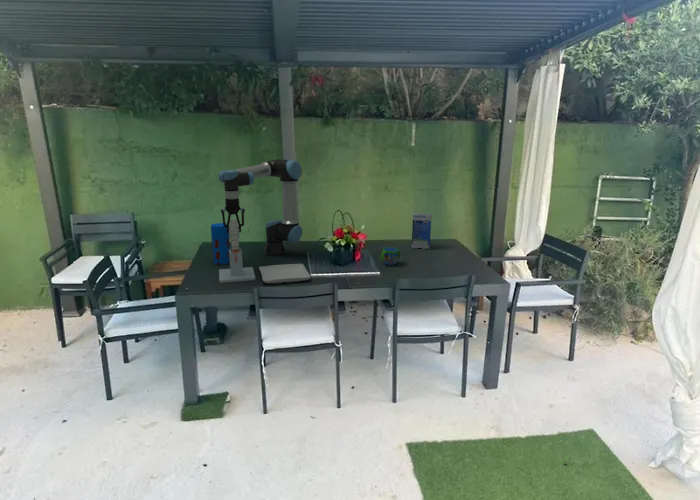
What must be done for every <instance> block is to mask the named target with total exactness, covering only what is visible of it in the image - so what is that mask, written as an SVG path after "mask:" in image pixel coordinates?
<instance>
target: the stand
mask: <svg viewBox="0 0 700 500" xmlns="http://www.w3.org/2000/svg"><path fill="white" fill-rule="evenodd" d="M229 258H230V263H229V268H221V269H218V278H219V279H218V281H219V284H223V283H235V282H236V283H237V282H247V281H256V275H255V272H254V267H253V266H249V267H248V266H247V267H243V266H244V263H243V251H242V248H239V252H238V250H237V251H233V252H232V250H231V248H230V250H229Z"/></svg>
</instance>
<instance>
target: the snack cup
mask: <svg viewBox="0 0 700 500" xmlns="http://www.w3.org/2000/svg"><path fill="white" fill-rule="evenodd" d="M400 257H401V252H400V249H399V248H397V247H393V246H389V247H383V248H382V252H381V255H380V261H382V262H384V265H386V264H387V265H386V266H391V265H392V266H395V265H394V264H396V265H397V260H398V258H400Z"/></svg>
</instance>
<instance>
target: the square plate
mask: <svg viewBox="0 0 700 500" xmlns="http://www.w3.org/2000/svg"><path fill="white" fill-rule="evenodd" d="M258 269H259V272H260V275H261V278H262V282H264V283H265V284H282V283H283V282H286V283H297V282H302V281H308V280H310V279H311V274H310V272H308V269H307V268H306V267H305V265H304V264H303V263H292V264H291V263H289V264H275V265H274V264H273V265H264V266H262V265H261V266H258Z"/></svg>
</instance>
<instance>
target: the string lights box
mask: <svg viewBox="0 0 700 500" xmlns="http://www.w3.org/2000/svg"><path fill="white" fill-rule="evenodd" d="M411 227H412V229H411V231H412V232H411V247H412V248H429V247H430V246H431V231H432V230H431V229H432V213H429V212H427V213H426V212H413V213H412V226H411ZM429 249H430V248H429Z"/></svg>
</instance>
